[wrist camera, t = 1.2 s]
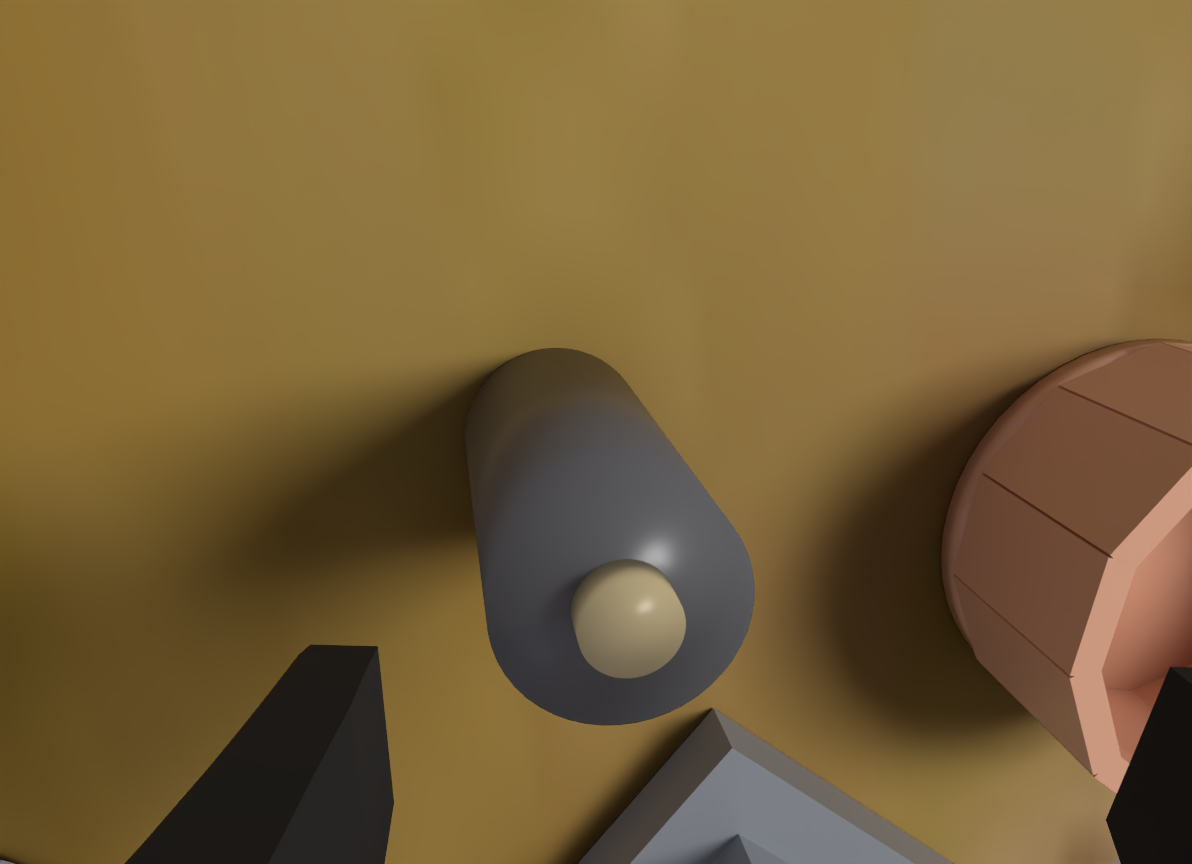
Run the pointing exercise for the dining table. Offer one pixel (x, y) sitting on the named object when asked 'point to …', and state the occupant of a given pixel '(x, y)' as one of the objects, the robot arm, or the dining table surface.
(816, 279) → the dining table surface
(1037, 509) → the cup
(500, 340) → the dining table surface
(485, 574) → the battery cell
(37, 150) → the dining table surface
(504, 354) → the dining table surface
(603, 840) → the checker housing
